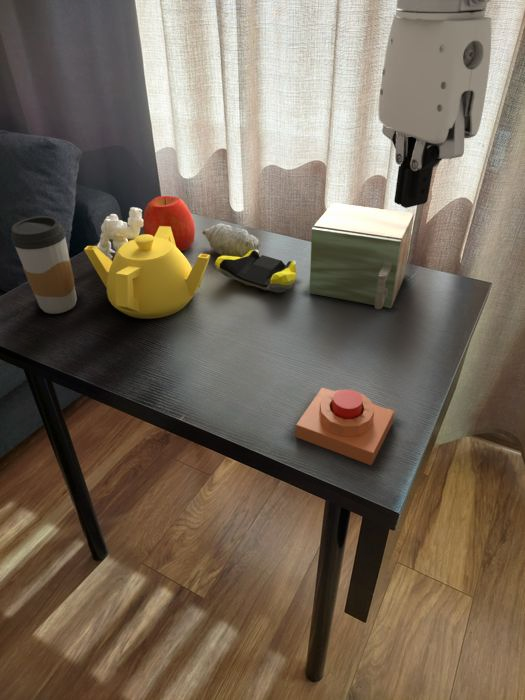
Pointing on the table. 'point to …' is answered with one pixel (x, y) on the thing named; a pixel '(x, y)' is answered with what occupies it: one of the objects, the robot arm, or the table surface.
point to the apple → (170, 220)
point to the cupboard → (372, 228)
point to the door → (354, 266)
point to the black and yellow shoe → (259, 271)
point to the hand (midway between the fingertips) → (410, 202)
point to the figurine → (119, 231)
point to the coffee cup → (46, 262)
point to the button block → (345, 427)
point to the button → (347, 404)
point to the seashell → (231, 240)
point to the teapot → (149, 275)
